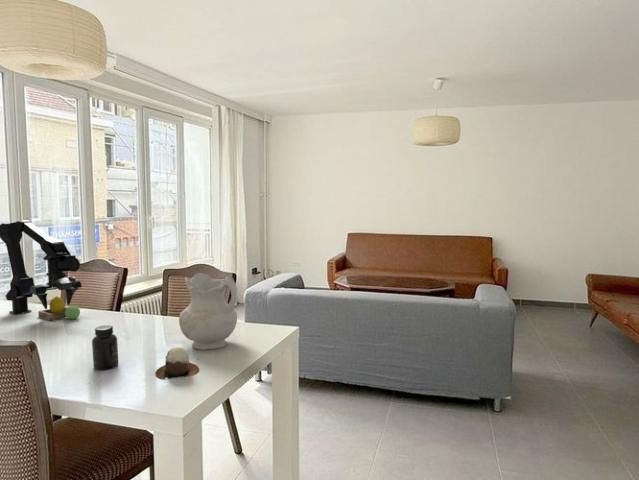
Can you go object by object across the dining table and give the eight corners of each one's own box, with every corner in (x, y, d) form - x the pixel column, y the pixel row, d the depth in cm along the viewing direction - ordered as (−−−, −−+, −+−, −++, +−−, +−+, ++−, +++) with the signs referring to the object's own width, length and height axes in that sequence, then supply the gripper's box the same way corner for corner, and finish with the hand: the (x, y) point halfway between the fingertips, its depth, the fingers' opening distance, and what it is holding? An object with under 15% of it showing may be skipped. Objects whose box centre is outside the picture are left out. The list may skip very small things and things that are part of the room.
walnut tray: (38, 316, 192) (38, 311, 192) (64, 311, 201) (63, 306, 201) (51, 320, 186) (50, 314, 186) (77, 315, 195) (76, 309, 195)
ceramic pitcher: (252, 343, 162) (253, 273, 162) (226, 356, 143) (228, 277, 143) (198, 338, 168) (199, 270, 168) (166, 350, 149) (168, 275, 149)
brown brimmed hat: (152, 364, 135) (176, 336, 137) (179, 383, 138) (202, 357, 140) (150, 377, 124) (175, 348, 126) (179, 399, 127) (204, 369, 128)
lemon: (47, 316, 192) (45, 297, 191) (58, 312, 197) (56, 294, 196) (57, 317, 190) (55, 298, 189) (68, 313, 196) (66, 295, 195)
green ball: (62, 319, 188) (61, 306, 188) (75, 316, 193) (75, 303, 192) (69, 321, 185) (68, 308, 185) (83, 318, 190) (82, 305, 189)
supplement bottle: (111, 360, 141) (110, 322, 139) (122, 366, 136) (121, 326, 135) (89, 367, 135) (87, 327, 134) (99, 372, 131) (98, 332, 130)
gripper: (41, 275, 180) (43, 314, 181) (87, 269, 195) (89, 305, 197) (28, 272, 186) (30, 310, 187) (73, 267, 201) (75, 301, 203)
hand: (57, 306), depth 193 cm, fingers open, 9 cm apart
